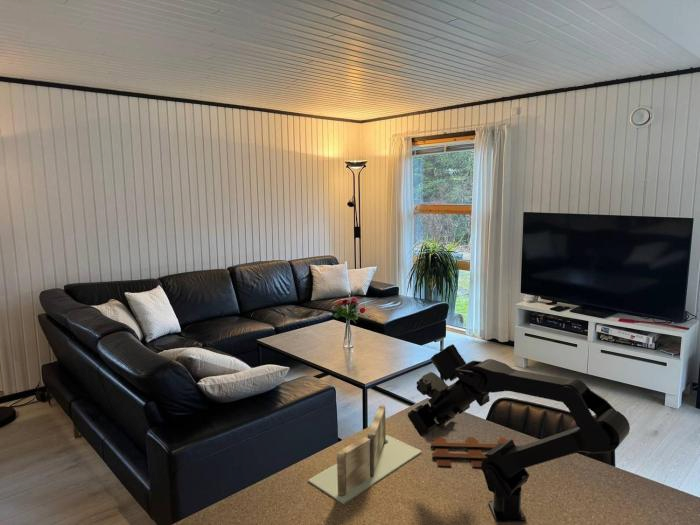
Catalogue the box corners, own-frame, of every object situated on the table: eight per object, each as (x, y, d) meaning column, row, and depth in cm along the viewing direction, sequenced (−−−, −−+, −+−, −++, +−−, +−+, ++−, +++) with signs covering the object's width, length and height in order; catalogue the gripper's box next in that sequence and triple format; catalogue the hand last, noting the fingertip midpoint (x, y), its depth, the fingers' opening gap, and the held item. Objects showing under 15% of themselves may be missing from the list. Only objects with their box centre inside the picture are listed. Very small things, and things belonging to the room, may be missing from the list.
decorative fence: (526, 472, 123) (512, 441, 137) (526, 466, 122) (512, 435, 137) (433, 469, 125) (429, 439, 139) (433, 463, 124) (429, 433, 139)
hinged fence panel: (375, 472, 122) (374, 434, 120) (368, 471, 122) (367, 434, 120) (386, 439, 137) (385, 405, 135) (379, 438, 137) (379, 405, 136)
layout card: (343, 504, 111) (343, 502, 111) (308, 481, 120) (308, 479, 120) (421, 452, 131) (421, 450, 131) (386, 436, 140) (386, 434, 140)
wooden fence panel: (341, 497, 113) (340, 454, 111) (336, 494, 114) (335, 451, 112) (375, 475, 121) (375, 435, 119) (370, 472, 122) (369, 432, 120)
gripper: (459, 356, 122) (424, 385, 131) (413, 378, 109) (378, 409, 118) (487, 394, 118) (448, 422, 127) (443, 422, 105) (403, 451, 114)
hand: (420, 425), depth 122 cm, fingers closed
